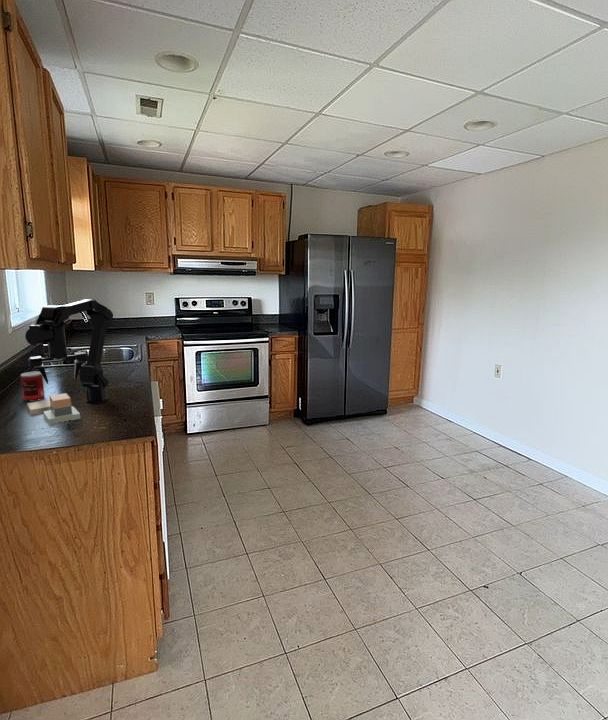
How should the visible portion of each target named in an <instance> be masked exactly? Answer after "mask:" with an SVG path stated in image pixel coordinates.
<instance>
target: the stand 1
mask: <svg viewBox="0 0 608 720" xmlns="http://www.w3.org/2000/svg"><path fill="white" fill-rule="evenodd" d="M26 406H27V407H26V408H27V410H28V412H29V411H30V412H29V414H30V415H31V414H33V415H37V414H36V413H39V414H43V411H48V410H51V407H50V399H47V400H46V399H44V400H38V401H32V402H27V403H26Z"/></svg>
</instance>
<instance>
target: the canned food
mask: <svg viewBox="0 0 608 720" xmlns="http://www.w3.org/2000/svg"><path fill="white" fill-rule="evenodd" d="M20 384H21V390H22V398H23V400H24V401H25V400H36V401H39V400H38V399H41V400H43V399H44V398H45V389H44V388H45V387H44V377H43V375H42V374H41V372H40V371H28V372H23V373H21V374H20ZM42 398H43V399H42Z"/></svg>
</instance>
